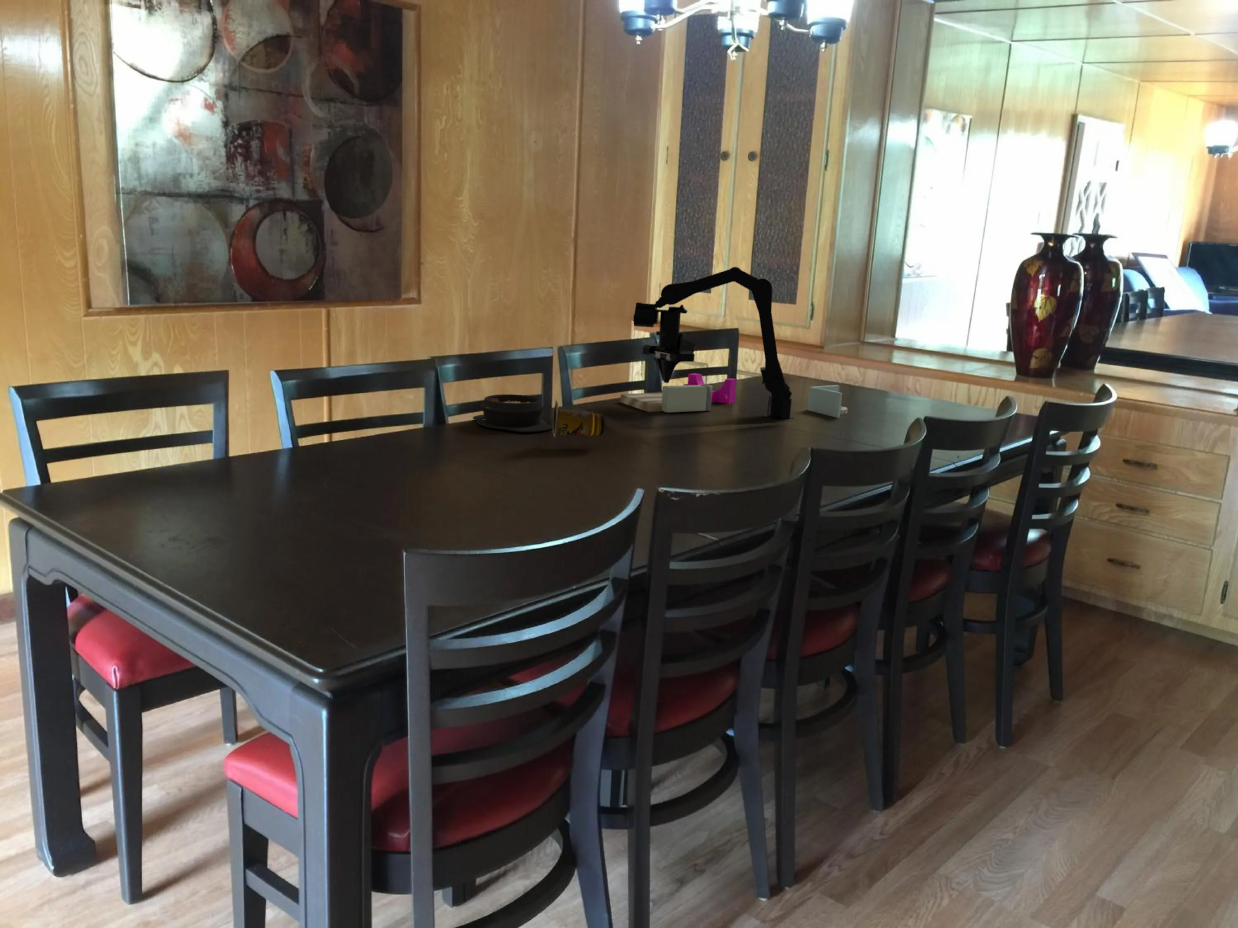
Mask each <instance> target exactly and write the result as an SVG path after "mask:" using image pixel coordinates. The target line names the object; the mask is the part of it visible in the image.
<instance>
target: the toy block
mask: <svg viewBox="0 0 1238 928" xmlns="http://www.w3.org/2000/svg"><path fill="white" fill-rule="evenodd" d="M687 375H688V376H687V377H688V378H687V383H684V384H683V385H706V384H705V381H704V380H703V374H702V373H695V372H694V373H689V374H687ZM736 391H737V379H736V378H733V377H732V378H725V379H724V382H723V384H722V385H721V387H720V388H719V389H718V390H713V389H712V399H711V404H712V403H722V404H727V405H730V404H733V403H735V402H736Z"/></svg>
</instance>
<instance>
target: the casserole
mask: <svg viewBox="0 0 1238 928" xmlns="http://www.w3.org/2000/svg"><path fill="white" fill-rule="evenodd" d="M479 407H480V408H481V409H482V412H483V414H478V415H474V416H473V417H472V419H473V420H475V421H476V423H477V424H478V425H480V426H481V427H484V428H485V427H486V428H488V429H495V430H503V431H511V432H515V433H538V432H539V433H540V432H546V431H550V430H553V425H550V424H548V422H546V421H545V420H543V419H541V418H542V413H543V411H544V410H545V406H544V405H543V402H542V399H540V398H538V397H536V396H531V395H527V394H526V395H524V394H513V393H512V394H511V393H510V394H509V393H508V394H507V393H506V394H504V393H502V394H493V395H487V396H485V397H484V398H483V401H482V403H481V404H480V406H479ZM482 419H486V420H482Z"/></svg>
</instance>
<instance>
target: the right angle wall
mask: <svg viewBox="0 0 1238 928" xmlns="http://www.w3.org/2000/svg"><path fill="white" fill-rule="evenodd" d="M842 396H843V392H840V385H839V384H835V385H833V384H832V385H820V386H819V385H817V386H809V388H808V398H807V400H808V401H807V411H810V412H814V413H817V414H822V415H825V416H830V417H834V418H837V419H839V418H841V416H843V415H847V414H848V407H846V406H842V399H843V397H842Z"/></svg>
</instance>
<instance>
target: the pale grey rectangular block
mask: <svg viewBox="0 0 1238 928" xmlns="http://www.w3.org/2000/svg"><path fill="white" fill-rule="evenodd" d="M712 390H713V385H711V384H705V385H684V384H683V385H663V386H662V391H661V393H662V405H661V411H660V412H664V413H680V412H682V413H683V412H704V411H707V412H708V411H711V410H712V409H711V408H712V403H711V399H712Z"/></svg>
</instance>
